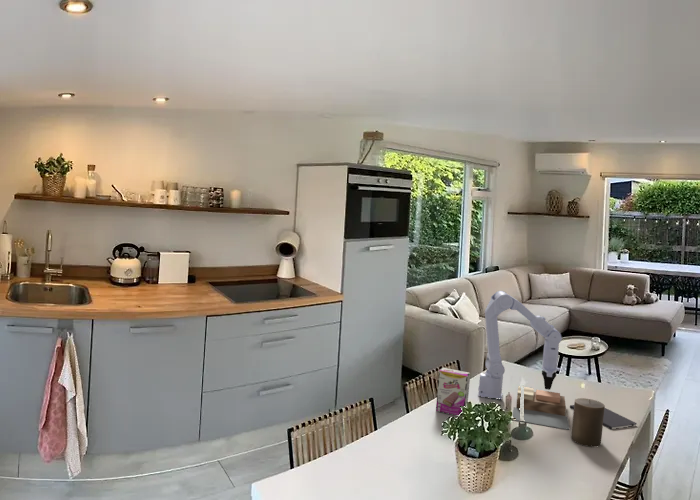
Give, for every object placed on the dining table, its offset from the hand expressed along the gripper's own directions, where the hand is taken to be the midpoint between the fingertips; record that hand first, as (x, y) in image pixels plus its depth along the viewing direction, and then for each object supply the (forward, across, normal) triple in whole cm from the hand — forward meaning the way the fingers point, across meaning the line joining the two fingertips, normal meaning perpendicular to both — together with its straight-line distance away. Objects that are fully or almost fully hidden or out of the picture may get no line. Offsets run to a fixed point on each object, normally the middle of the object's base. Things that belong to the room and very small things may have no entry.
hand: (547, 388), depth 227 cm
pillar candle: (+5, -36, -12) cm, 38 cm away
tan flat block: (+5, -10, +2) cm, 11 cm away
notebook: (+6, -9, -20) cm, 23 cm away
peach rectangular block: (+1, -10, 0) cm, 10 cm away
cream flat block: (+1, -10, +8) cm, 14 cm away
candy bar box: (+5, -32, +35) cm, 48 cm away
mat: (+5, -22, +2) cm, 23 cm away
